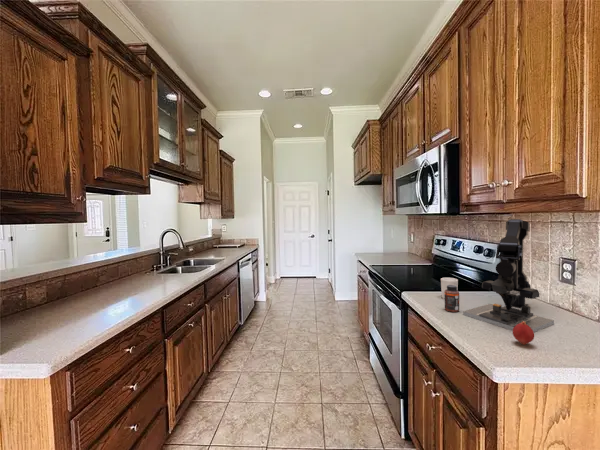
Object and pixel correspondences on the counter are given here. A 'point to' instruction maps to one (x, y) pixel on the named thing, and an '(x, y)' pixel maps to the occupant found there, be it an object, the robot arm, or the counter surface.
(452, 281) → the white cup
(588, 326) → the counter surface
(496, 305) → the block
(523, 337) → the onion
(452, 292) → the supplement bottle
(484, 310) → the breaker panel
